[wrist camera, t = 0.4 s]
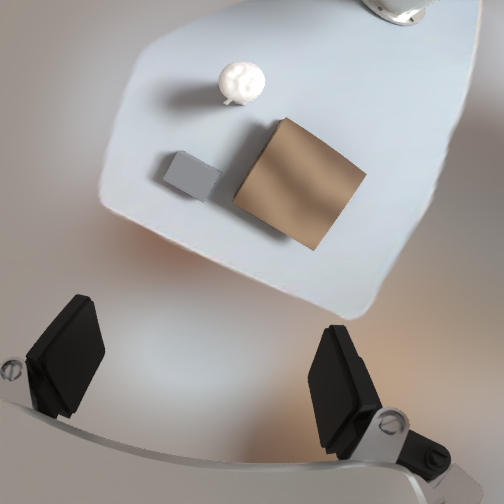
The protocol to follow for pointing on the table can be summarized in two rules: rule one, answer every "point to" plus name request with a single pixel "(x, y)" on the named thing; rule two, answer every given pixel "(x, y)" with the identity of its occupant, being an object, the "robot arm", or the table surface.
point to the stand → (298, 184)
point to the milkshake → (241, 82)
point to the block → (191, 175)
